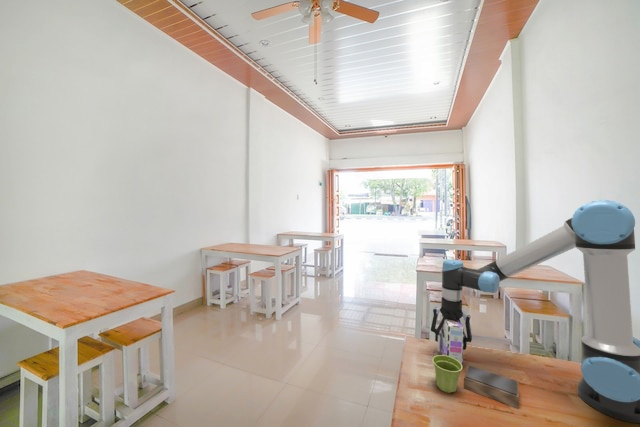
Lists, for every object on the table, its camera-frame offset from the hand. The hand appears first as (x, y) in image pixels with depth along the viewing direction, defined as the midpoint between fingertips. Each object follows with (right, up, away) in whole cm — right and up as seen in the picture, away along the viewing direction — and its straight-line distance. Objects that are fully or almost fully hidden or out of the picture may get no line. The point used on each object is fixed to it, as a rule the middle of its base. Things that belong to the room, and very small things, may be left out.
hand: (450, 352), depth 109 cm
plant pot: (-10, -3, -17) cm, 20 cm away
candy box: (0, -2, 0) cm, 2 cm away
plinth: (+5, -3, -19) cm, 19 cm away
